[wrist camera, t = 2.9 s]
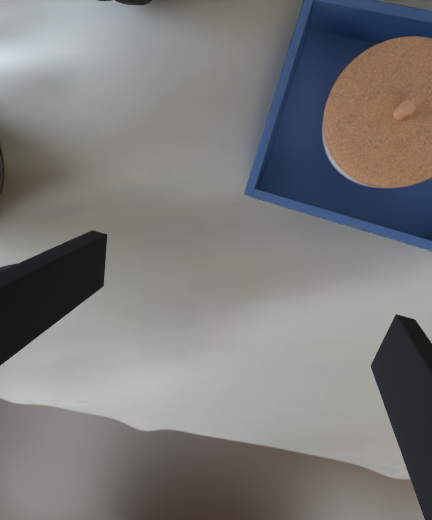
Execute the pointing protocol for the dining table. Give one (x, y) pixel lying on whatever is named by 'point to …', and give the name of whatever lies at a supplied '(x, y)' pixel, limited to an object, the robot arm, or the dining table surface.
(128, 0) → the squash
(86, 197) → the dining table surface
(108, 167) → the dining table surface
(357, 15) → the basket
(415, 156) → the trinket box
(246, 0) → the dining table surface
